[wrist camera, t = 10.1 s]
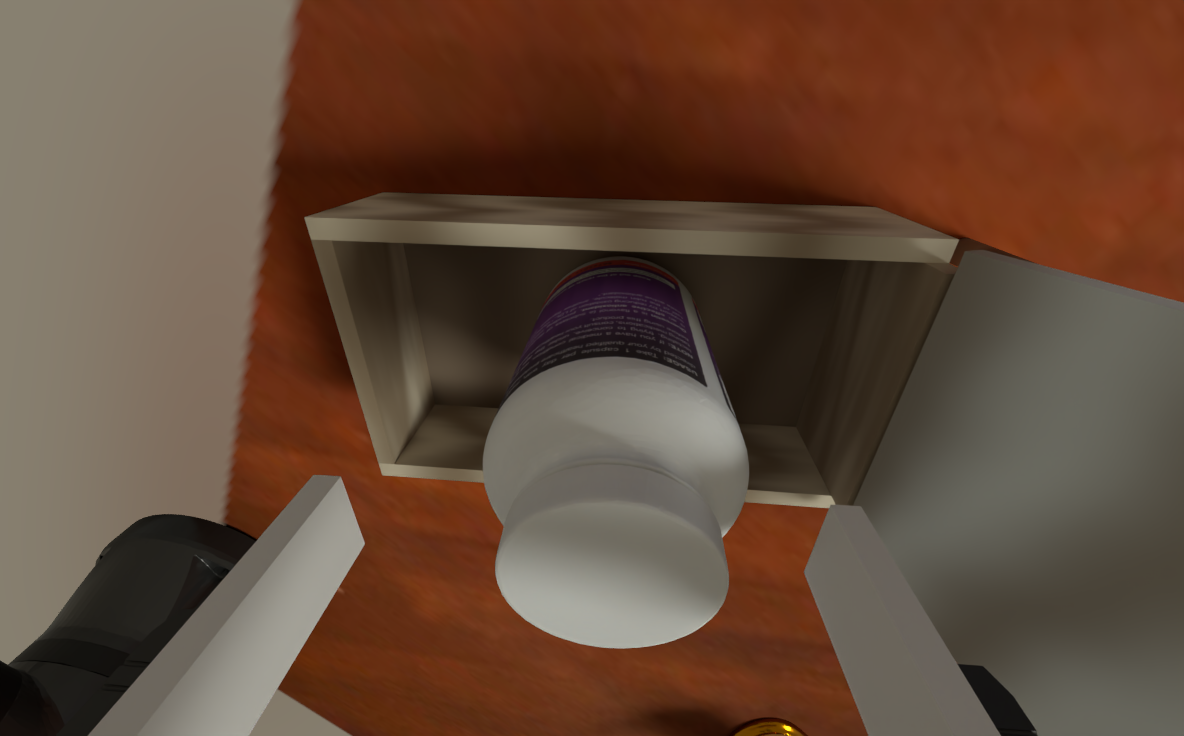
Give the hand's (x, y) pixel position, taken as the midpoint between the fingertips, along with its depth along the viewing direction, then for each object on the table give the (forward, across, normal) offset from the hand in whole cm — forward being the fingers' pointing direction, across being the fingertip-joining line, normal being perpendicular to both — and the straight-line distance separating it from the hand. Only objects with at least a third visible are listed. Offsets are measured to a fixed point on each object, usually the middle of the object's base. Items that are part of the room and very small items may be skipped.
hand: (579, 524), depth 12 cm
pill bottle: (+13, +1, 0) cm, 13 cm away
